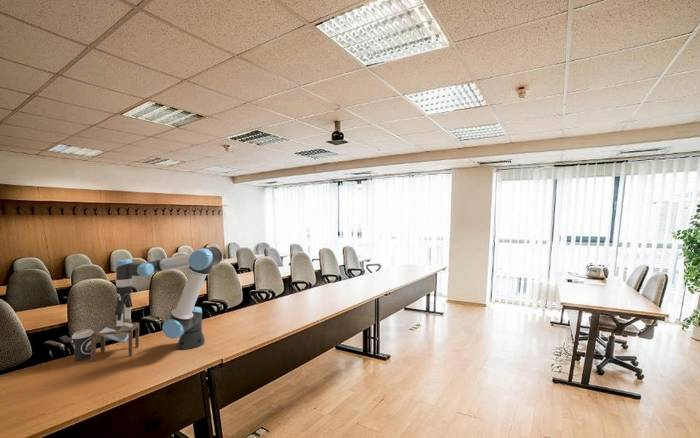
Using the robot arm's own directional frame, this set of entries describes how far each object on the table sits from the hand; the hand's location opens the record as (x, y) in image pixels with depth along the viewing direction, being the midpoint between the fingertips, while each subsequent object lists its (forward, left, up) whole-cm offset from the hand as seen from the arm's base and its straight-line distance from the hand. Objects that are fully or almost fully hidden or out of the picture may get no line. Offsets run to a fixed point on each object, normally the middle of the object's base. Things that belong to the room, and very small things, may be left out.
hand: (123, 322), depth 173 cm
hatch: (+5, 0, -7) cm, 9 cm away
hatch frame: (+4, 0, -18) cm, 18 cm away
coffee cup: (+19, 0, -18) cm, 26 cm away
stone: (+1, 0, -8) cm, 8 cm away
